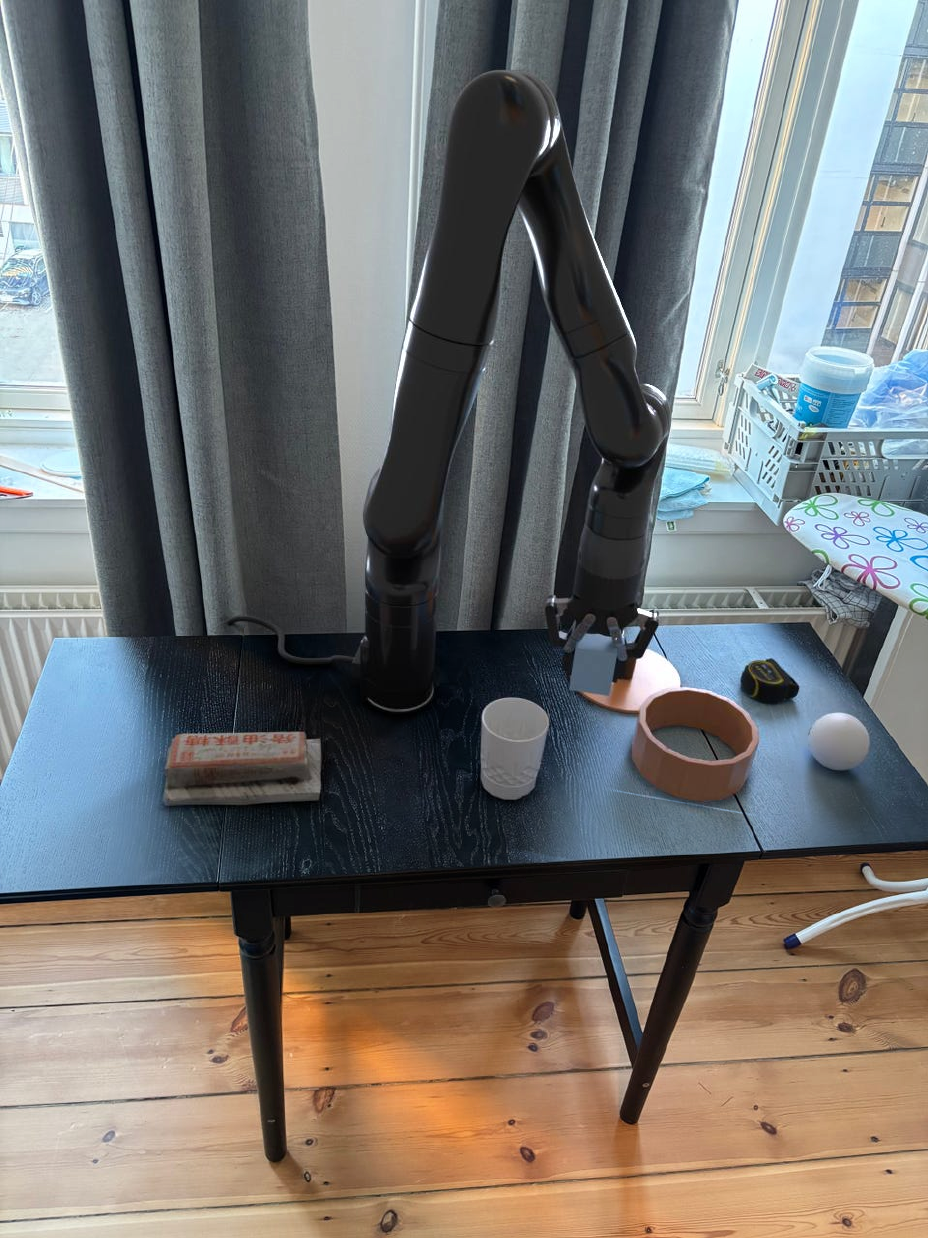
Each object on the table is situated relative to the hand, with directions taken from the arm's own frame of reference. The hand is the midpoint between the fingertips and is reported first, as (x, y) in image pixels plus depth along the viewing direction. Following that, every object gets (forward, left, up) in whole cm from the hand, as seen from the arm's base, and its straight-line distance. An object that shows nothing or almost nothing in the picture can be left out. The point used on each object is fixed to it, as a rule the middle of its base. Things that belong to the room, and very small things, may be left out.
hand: (591, 674), depth 120 cm
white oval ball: (+32, +4, -10) cm, 34 cm away
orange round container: (+14, -2, -10) cm, 17 cm away
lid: (+5, +13, -9) cm, 17 cm away
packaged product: (-39, -18, -10) cm, 44 cm away
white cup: (-8, -11, -10) cm, 17 cm away
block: (0, 0, -1) cm, 1 cm away
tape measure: (+25, +16, -10) cm, 31 cm away
